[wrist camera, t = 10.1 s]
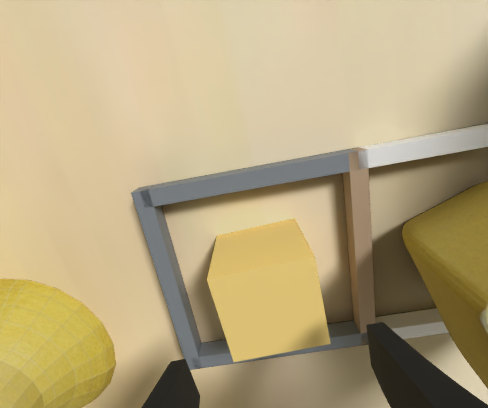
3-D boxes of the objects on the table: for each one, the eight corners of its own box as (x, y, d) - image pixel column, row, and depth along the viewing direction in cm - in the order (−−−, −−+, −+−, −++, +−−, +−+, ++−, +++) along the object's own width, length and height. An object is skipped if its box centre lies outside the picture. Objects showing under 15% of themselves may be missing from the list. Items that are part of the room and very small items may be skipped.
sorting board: (579, 106, 15) (608, 105, 14) (544, 304, 18) (564, 316, 17) (139, 187, 16) (131, 192, 15) (191, 355, 20) (188, 370, 19)
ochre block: (294, 217, 17) (314, 256, 12) (307, 285, 18) (330, 343, 13) (217, 235, 17) (206, 279, 12) (236, 299, 19) (233, 362, 14)
